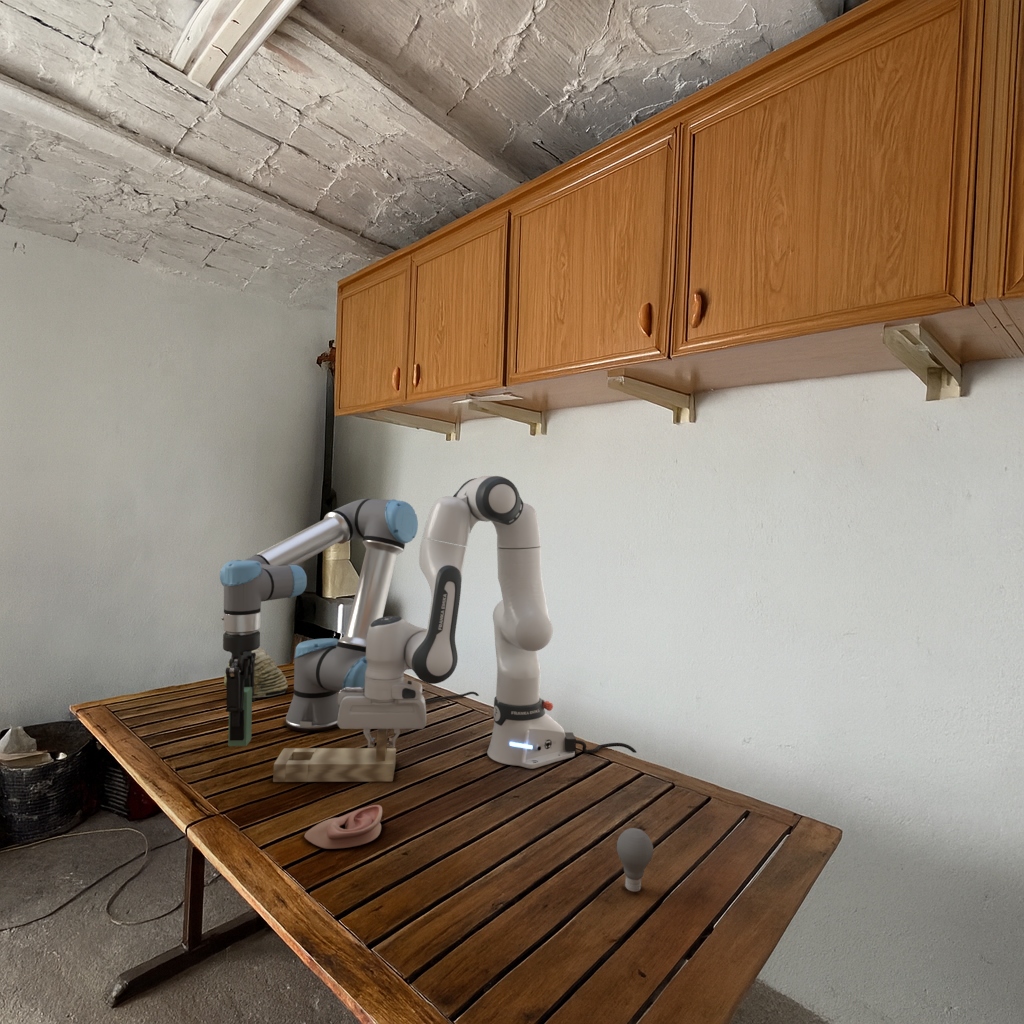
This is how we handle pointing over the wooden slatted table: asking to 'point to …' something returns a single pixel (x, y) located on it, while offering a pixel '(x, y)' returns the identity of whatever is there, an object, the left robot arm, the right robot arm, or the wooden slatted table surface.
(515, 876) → the wooden slatted table surface
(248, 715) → the peg
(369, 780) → the peg board
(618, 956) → the wooden slatted table surface
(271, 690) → the fossil
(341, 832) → the anatomical model
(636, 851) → the light bulb
